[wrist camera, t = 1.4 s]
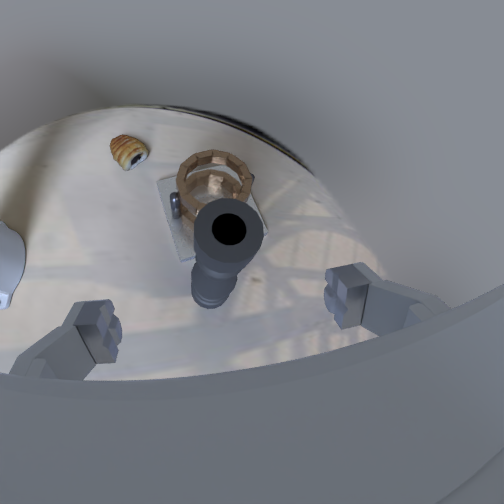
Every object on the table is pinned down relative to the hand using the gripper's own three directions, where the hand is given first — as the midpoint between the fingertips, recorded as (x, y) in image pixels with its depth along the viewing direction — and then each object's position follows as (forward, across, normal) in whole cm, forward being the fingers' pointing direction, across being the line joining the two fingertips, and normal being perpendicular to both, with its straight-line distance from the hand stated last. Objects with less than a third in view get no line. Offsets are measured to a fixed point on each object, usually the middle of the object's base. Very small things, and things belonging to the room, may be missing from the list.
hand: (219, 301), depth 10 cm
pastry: (+50, +16, -4) cm, 52 cm away
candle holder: (+31, +2, +19) cm, 36 cm away
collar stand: (+41, 0, +8) cm, 41 cm away
